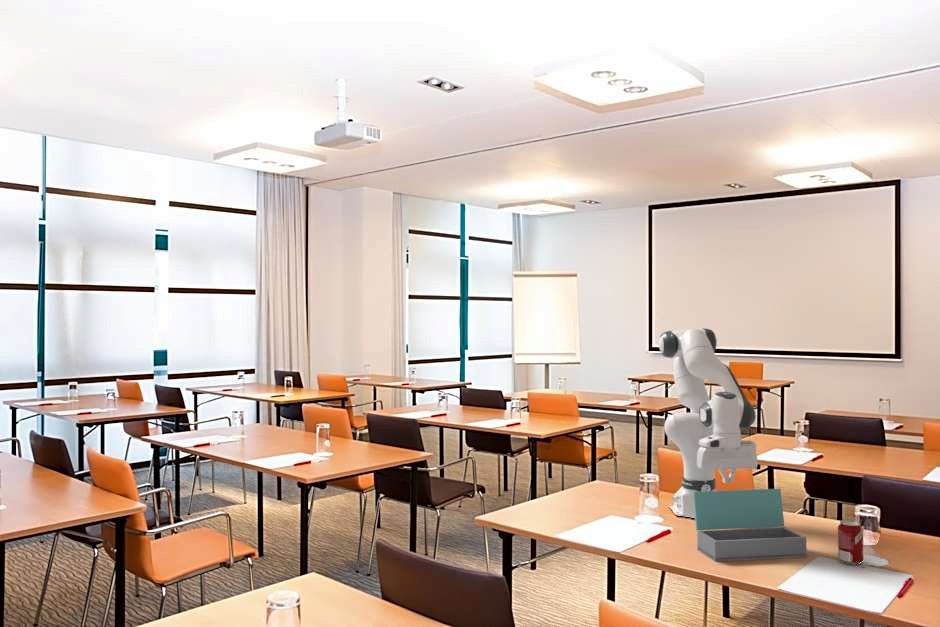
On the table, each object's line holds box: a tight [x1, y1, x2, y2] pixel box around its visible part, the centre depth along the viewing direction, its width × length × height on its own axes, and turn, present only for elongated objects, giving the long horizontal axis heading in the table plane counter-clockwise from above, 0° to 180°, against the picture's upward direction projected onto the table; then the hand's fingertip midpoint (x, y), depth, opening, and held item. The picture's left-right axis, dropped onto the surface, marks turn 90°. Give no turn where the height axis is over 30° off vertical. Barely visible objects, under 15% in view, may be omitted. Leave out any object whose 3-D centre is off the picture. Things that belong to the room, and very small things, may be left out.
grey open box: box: [696, 527, 808, 562], centre depth 231 cm, size 12×30×6 cm, turn 98°
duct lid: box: [693, 488, 786, 531], centre depth 239 cm, size 12×30×1 cm
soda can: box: [837, 519, 865, 565], centre depth 222 cm, size 7×7×12 cm
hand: (727, 482), depth 246 cm, fingers closed
